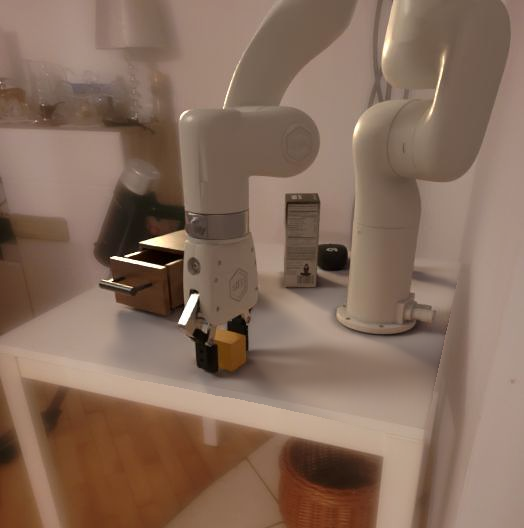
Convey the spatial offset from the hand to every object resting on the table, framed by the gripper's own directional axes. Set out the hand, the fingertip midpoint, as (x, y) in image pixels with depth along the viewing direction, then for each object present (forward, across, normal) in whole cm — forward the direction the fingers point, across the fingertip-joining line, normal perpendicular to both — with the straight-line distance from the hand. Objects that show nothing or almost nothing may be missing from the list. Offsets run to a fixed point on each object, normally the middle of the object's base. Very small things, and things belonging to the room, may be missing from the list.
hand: (223, 358), depth 66 cm
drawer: (0, +11, +22) cm, 25 cm away
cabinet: (+1, +21, +22) cm, 30 cm away
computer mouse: (+1, +50, +8) cm, 51 cm away
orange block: (+1, 0, 0) cm, 1 cm away
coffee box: (+1, +36, +8) cm, 37 cm away
